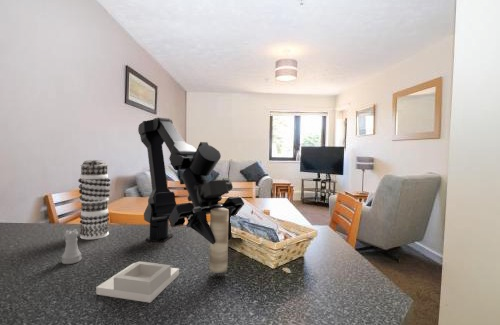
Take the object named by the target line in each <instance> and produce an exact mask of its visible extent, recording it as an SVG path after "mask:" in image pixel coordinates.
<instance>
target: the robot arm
mask: <svg viewBox="0 0 500 325" xmlns="http://www.w3.org/2000/svg"><path fill="white" fill-rule="evenodd" d="M137 131H138V132H137V133H138V135H139V137H140V142H141V143H142V144H143V145H144V147H145V148H146V149H147V158H148V165H149V173H150V181H151V182H150V183H151V193H150V195H149V197H148V199H147V203H148V204H147V206H146V208H145V209H144V212H143V220H144V221H145V222H147V223H148V224H149V235H148V237H146V238H145V241H149V242H150V241H152V242H160V243H164V242H166V241H167V240H170V238H172V237H174V235H173V234H171V233H170V230H169V229H170V227H171V228H176V227H180V226H181V227H182V226H184V224H185V222H186V220H187V223H186V224H185V226H186V228H191V229H192V230H194V231H195V232H196V233H198V234H199V235H200V236H201V237H203V238H204V239H205V240H206V241H207V242H209V244H210V243H211V244H215V242H216V241H215V238H214V235H213V233H212V230H211V228H210V223H209V221H208V220H207V218H208V217H207V215H210V210H211V209H214V208H225V209H228V210H229V217H228V241H230V240H232V239H233V238H232V233H231V223H230V217H231V216H234V215H236V214H237V213H238V212H240V210H241V209H242V208H243V206H245V202H244V200H243V198H242V197H241V196H231V197H227V198H226V200H224V202H223V203H219V202H220V201H222V199H223V197H222V196H224V195H226V194H229V193H230V192H229V191H232V189H233V183H232V180H230V178H229V177H223V178H222V179H216V180H210V181H208V179H207V176H210V175H211V174H212V172H213V171H214V169H215V167H216V165H217V164H219V163H218V162H219V161H220V159H221V153H220V151H219V150H218V149H216V148H215V147H213V146H212V145H209V143H208V142H203V141H200V142H199V143H198V147H197V148H196V147H194V146H193V145H191V144H189V143H187V142H186V141H185V140H184V138H182V136H181V135H180V132H178V130H177V128H176V127H175V126H174V125H173V120H172V119H170V118H168V117H157V116H156V117H155V118H153V119H149V120H142V122H141V123H140V124H139V125H138V130H137ZM163 144H165V146H166V148H167V149H168V151H169V153H170V155H169V157H168V160H169V161H170V162H169V163H170V165H171V167H172V168H173V170H175V171H183V172H182V173H181V178H180V180H179V184H180V185H184V186H185V189H186V190H187V193H188V197H187V201H188V202H184V203H177V202H176V196H175V195H176V193H175V191H171V190H170V189H169V188H168V187H169V186H168V180H167V174H166V173H167V172H166V165H165V158H164V150H163ZM169 224H170V225H169Z"/></svg>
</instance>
